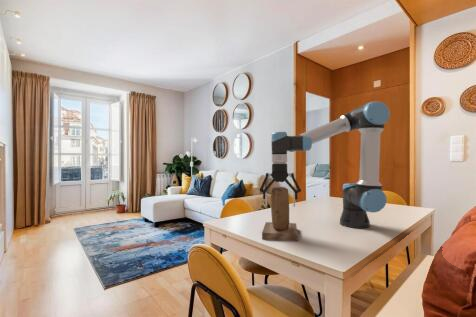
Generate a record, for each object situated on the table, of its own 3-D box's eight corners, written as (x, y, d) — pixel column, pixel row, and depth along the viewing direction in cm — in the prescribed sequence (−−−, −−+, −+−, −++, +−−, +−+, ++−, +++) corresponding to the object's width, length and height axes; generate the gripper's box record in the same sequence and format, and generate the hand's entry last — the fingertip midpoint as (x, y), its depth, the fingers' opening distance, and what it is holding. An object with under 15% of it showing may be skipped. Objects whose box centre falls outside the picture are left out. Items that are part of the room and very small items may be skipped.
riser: (296, 229, 130) (296, 223, 130) (297, 241, 112) (297, 234, 112) (265, 227, 134) (265, 222, 134) (262, 239, 115) (262, 232, 115)
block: (290, 230, 118) (290, 188, 118) (275, 231, 117) (274, 189, 117) (283, 224, 128) (283, 186, 128) (269, 225, 128) (269, 186, 128)
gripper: (253, 163, 121) (254, 206, 121) (306, 163, 116) (306, 208, 116) (255, 163, 129) (256, 204, 129) (305, 162, 124) (305, 205, 124)
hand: (280, 206), depth 123 cm, fingers open, 13 cm apart
